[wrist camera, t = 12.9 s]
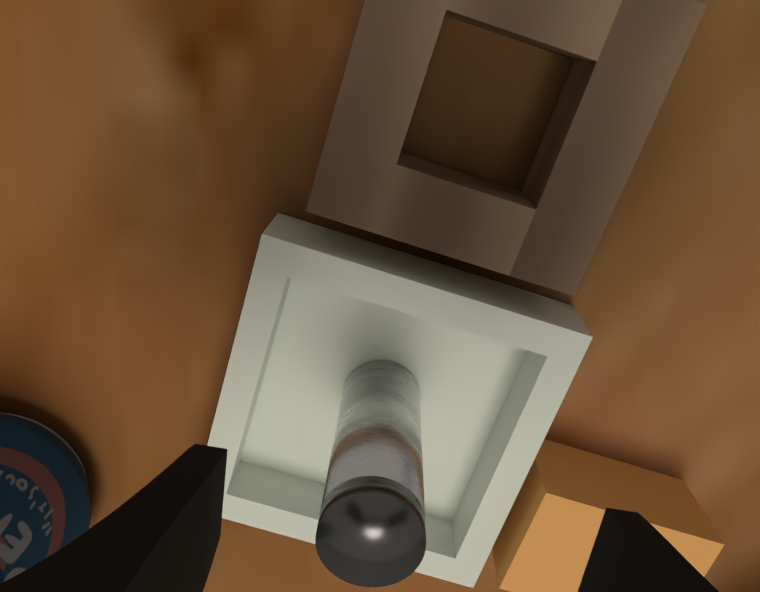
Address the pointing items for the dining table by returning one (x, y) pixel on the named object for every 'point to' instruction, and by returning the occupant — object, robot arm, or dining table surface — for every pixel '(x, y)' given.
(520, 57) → the dining table surface
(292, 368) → the tray
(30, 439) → the soda can
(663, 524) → the block
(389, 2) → the socket block
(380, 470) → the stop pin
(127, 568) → the robot arm
